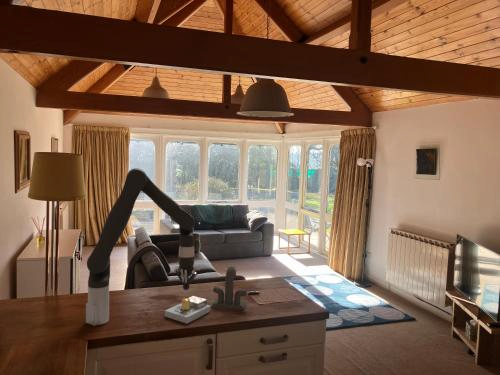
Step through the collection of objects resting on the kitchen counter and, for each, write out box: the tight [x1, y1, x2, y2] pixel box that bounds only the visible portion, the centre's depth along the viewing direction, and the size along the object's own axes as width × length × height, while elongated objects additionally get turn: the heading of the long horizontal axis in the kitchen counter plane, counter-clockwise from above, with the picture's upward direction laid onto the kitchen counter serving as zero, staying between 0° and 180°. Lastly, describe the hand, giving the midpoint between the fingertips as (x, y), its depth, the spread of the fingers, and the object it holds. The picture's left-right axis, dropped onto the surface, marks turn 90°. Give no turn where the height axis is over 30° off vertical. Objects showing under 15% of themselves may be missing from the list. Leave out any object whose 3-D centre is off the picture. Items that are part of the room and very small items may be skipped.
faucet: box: [210, 265, 248, 311], centre depth 211 cm, size 18×16×20 cm
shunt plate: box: [188, 295, 208, 308], centre depth 201 cm, size 7×9×2 cm
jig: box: [164, 302, 211, 324], centre depth 196 cm, size 18×14×3 cm
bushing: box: [181, 297, 190, 312], centre depth 194 cm, size 4×4×8 cm
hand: (186, 289), depth 193 cm, fingers closed
